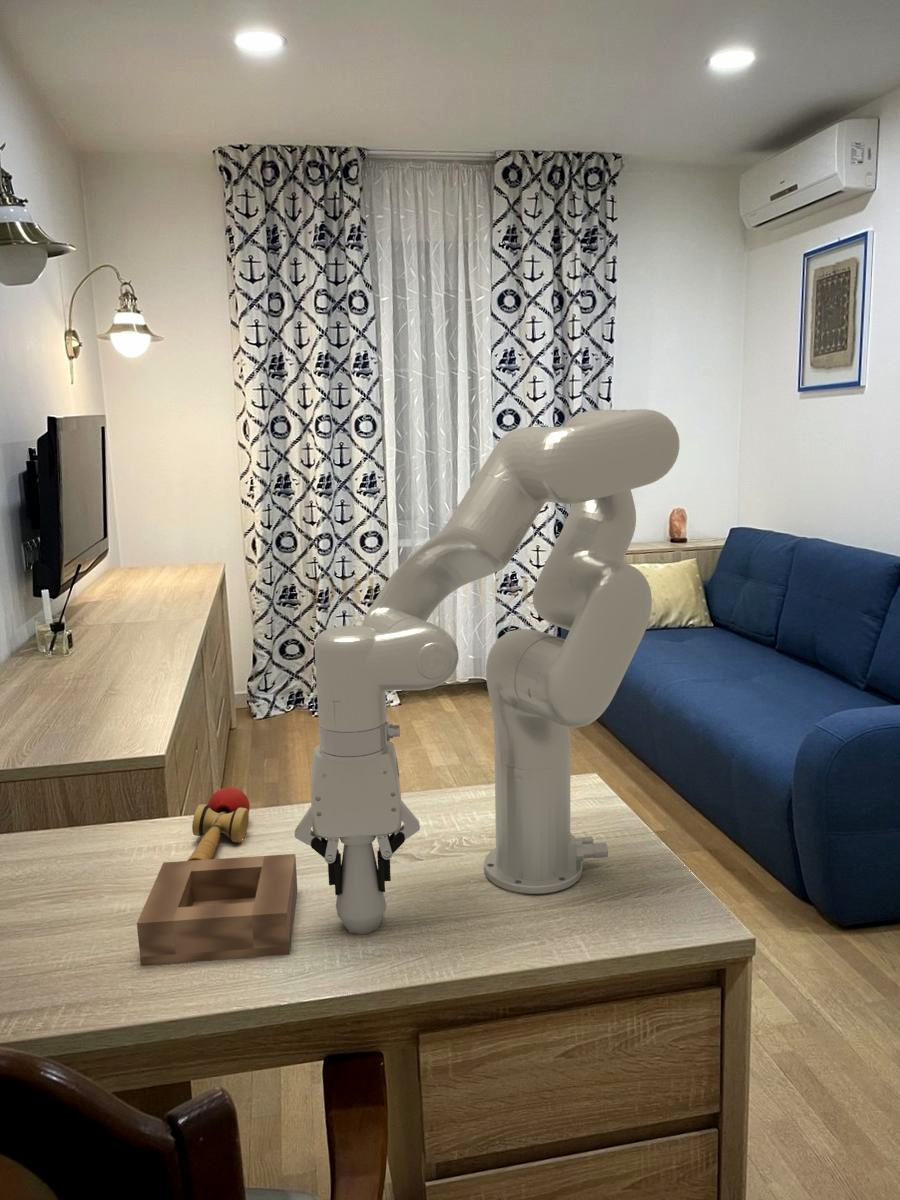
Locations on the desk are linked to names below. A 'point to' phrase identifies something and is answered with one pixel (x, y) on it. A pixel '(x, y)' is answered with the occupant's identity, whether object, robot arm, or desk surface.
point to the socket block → (219, 910)
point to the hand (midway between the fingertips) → (360, 886)
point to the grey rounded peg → (360, 886)
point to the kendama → (220, 821)
